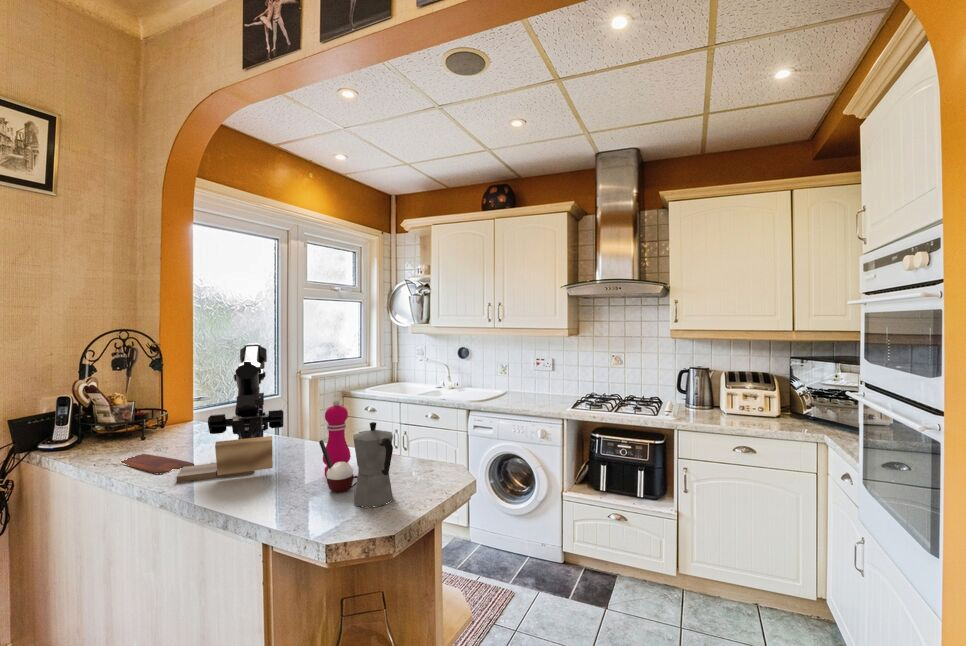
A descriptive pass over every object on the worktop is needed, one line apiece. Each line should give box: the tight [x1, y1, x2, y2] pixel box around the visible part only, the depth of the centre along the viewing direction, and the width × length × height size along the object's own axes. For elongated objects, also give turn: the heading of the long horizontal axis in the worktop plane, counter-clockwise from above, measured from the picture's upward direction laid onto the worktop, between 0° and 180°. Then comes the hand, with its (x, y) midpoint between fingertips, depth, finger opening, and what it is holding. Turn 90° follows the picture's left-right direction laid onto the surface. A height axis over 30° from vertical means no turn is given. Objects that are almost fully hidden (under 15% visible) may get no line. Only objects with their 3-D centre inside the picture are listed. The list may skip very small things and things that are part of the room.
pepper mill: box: [322, 399, 351, 477], centre depth 121 cm, size 7×7×20 cm
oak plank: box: [214, 435, 274, 475], centre depth 117 cm, size 10×13×2 cm
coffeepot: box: [353, 421, 394, 508], centre depth 101 cm, size 15×9×18 cm, turn 39°
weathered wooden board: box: [176, 462, 256, 483], centre depth 122 cm, size 9×18×2 cm, turn 115°
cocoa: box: [318, 439, 358, 494], centre depth 109 cm, size 10×6×12 cm, turn 67°
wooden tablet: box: [121, 453, 195, 475], centre depth 131 cm, size 27×10×2 cm, turn 63°
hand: (246, 447), depth 120 cm, fingers closed
